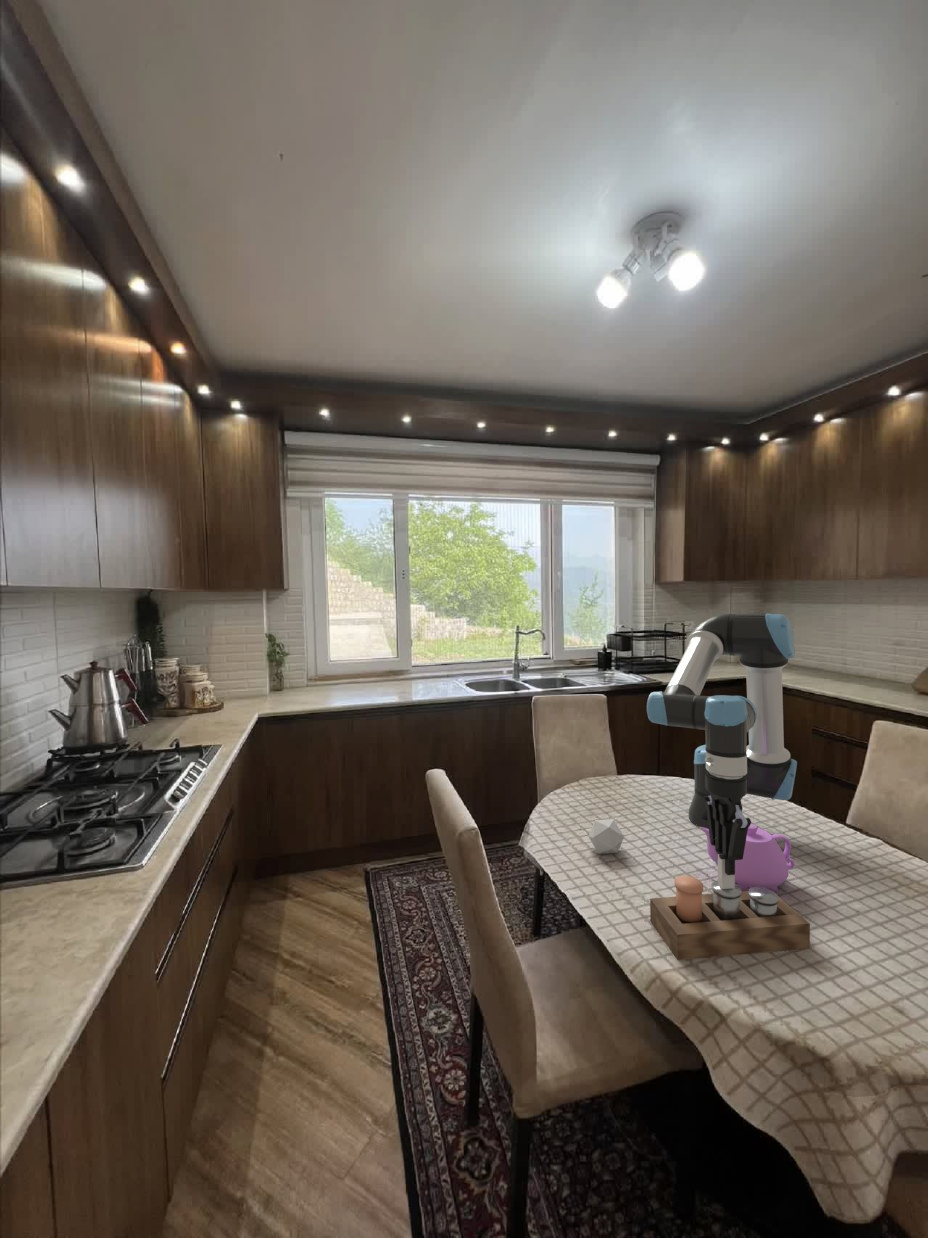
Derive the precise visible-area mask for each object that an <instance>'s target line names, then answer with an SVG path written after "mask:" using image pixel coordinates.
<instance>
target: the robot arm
mask: <svg viewBox="0 0 928 1238" xmlns="http://www.w3.org/2000/svg"><path fill="white" fill-rule="evenodd" d="M795 649H796V648H795V637H794V632H793V627H792V624H791V621H790V619H789V618H788V617H787V616H786V615H785V614H782V613H781V614H779V613H778V614H774V613H769V612H767V613H724V614H723V613H721V614H718V615H715V616H712V617H710V618H708V619H706V620H704V621H703V622H701V623H699V624H698V625H697V626H696V627H694V629H692V630H691V632H690V633H689V635H688V637H687V638H686V641H685V651H684V653H683V655H682V657H681V658H680V660H679V663H678V665H676V666H677V667H676V669H675V670H674V672H673V675H672V676H671V678H670V680H669V682H668V684H667V686H666V688H665V690H664V691H661V690H660V691H653V692H650V694H649V695H648V698H647V702H646V713H647V718H648V720H649V721H650V722H651V723H652V724H653V723H654V724H658V725H663V726H669V727H677V728H678V727H680V728H685V729H686V728H688V729H695V730H696V729H697V730H702V731H703V730H704V732H705V744H703V745H700V746H697V748H695V750H694V758H693V759H694V760H693V766H694V767H693V768H694V794H693V796H692V800H691V802H690V805H689V809H688V819H689V821H690V822H691V823H692V824H694V825H696V826H698V827H699V828H700V827H704V828H707V829H709V834H710V842H711V845H712V846H715V850H716V852H717V857H718V866H717V881H718V886H719V887H720V888H721V889H731V888H735V884H736V882H735V860H742V859H743V855H744V849H745V843H746V837H747V831H748V828H749V826H750V825H751V824H752V820H751V818H750V817H745V815H744V813H743V804H742V799H743V797H745V796H746V795H751V796H755V797H761V798H768V799H771V800H778V801H789V800H790V799H791V798H792V796H793V790H794V784H795V779H796V778H795V777H796V772H797V766H798V761H797V760H795V759H793V758H791V752H790V751H789V750H788V749H787V748H785V743H784V742H785V741H784V740H785V738H784V705H783V704H784V702H783V700H784V699H783V669H784V668H785V667H786V666H788V664H789V660H790V659H792V658H794V657H795V653H796V652H795V651H796V650H795ZM722 656H734V657H735V656H737V657H739V664H740V665H741V666H742V667H744V669H745V672H746V673H745V675H746V679H745V680H746V697H745V696H742V695H724V694H723V695H721V694H720V695H719V694H718V695H717V694H716V695H712V696H711V695H710V696H709V695H708V696H707V695H701V694H702V690H703V689H704V686H705V684H706V682H707V680H708V677H709V675H710V673H711V670H712V667H713V665H714V663H715V661H717V660H718V659H720V658H721V657H722ZM747 734H748V735H747ZM747 737H748V743H747ZM747 744H748V745H747Z"/></svg>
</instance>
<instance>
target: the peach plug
mask: <svg viewBox="0 0 928 1238" xmlns="http://www.w3.org/2000/svg"><path fill="white" fill-rule="evenodd" d="M674 887H675V888H676V889H675V890H676V891H675V897H676V914H677V916H678V917H679V918H680V919H682V920H683V921H686V922H690V923H697V922H700V921H701V920H702V894H703V892H704V883H703V882H702V881H701V880H700V879H698V878H696V877H694V876H689V875H680V876H679V875H678V876H677V877H675V878H674Z"/></svg>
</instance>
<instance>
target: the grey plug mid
mask: <svg viewBox="0 0 928 1238" xmlns="http://www.w3.org/2000/svg"><path fill="white" fill-rule="evenodd" d="M711 890H712V894H713V909H714V914H715V915H716V916H717V917H718V918H719V919H720V920H721V921H723V920H735V919H740V896H741V888H740V887H739V886H738V885H737V883H735V888H731V889H721V888H720V887H719V886H718V880H714V881H713V882H712V883H711Z"/></svg>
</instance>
